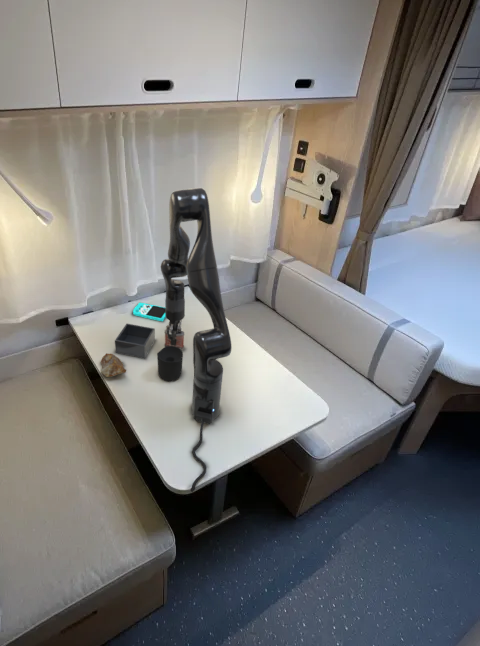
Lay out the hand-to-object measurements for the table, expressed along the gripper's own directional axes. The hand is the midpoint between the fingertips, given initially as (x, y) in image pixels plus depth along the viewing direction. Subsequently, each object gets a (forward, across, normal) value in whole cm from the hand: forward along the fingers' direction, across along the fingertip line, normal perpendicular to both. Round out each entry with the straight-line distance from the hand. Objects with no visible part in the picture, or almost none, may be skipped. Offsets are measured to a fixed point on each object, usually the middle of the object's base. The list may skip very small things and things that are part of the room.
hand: (174, 341), depth 163 cm
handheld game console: (+3, -22, -18) cm, 29 cm away
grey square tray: (+3, +4, -16) cm, 16 cm away
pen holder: (+4, +16, +3) cm, 16 cm away
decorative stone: (+3, +20, -19) cm, 28 cm away
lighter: (+3, 0, 0) cm, 3 cm away
